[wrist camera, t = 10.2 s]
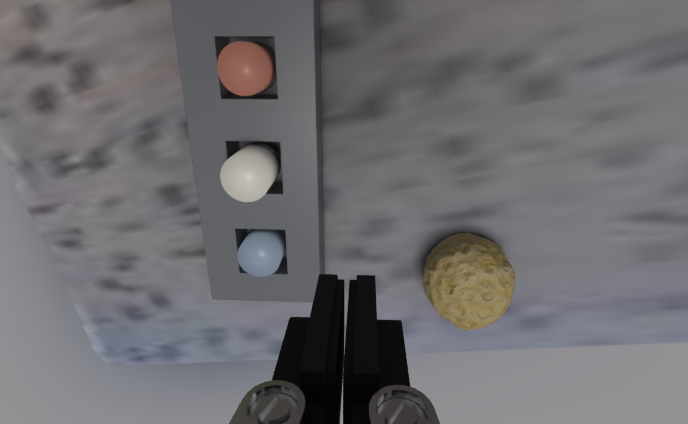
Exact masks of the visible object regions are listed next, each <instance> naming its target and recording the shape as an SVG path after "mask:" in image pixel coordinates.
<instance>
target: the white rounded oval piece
mask: <svg viewBox="0 0 688 424" xmlns="http://www.w3.org/2000/svg"><path fill="white" fill-rule="evenodd" d="M280 169H281V162H280V158H279V156H278V154H277V153H276V151H275V150H274V149H273V148H272V147H270V146H269V145H267V144H265V143H261V142H253V143H249V144H247V145H245V146H244V147H243V148H241V149H240V150H239V151H238V152H236V153H235V154H234V155H232V156H231V157H230V158H229V159H227V160H226V161H225V163H224V164H223V166H222V168H221V172H220V180H221V184H222V186H223V188H224V190H225V191H226V192H227V193H228V194H229V195H230V196H231V197H232V198H234V199H236V200H238V201H241V202H254V201H257V200H259V199H260V198H262V197H263V196H264V195H265V194H266V192H267V191H268V189H269V188H270V187H271V185H272V184H273V182H274V181H275V180H276V178H277V177H278V175H279V173H280Z"/></svg>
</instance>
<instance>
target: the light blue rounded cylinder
mask: <svg viewBox="0 0 688 424" xmlns="http://www.w3.org/2000/svg"><path fill="white" fill-rule="evenodd" d="M285 250H286V232H285V230H276V229H251V230H250V232H249V233H248V235H247V236H246V238H245V239H244V241H243V243H242V244H241V246H240V247H239V249H238V252H237V259H238V262H239V264H240V266H241V267H242V269H243V270H244V271H246V272H247V273H249V274H250V275H253V276H257V277H265V276H269V275H271V274H273V273H274V272H275V271H276V270H277V269H278V267H279V265H280V263H281V260H282V258H283V255H284V253H285Z"/></svg>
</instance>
